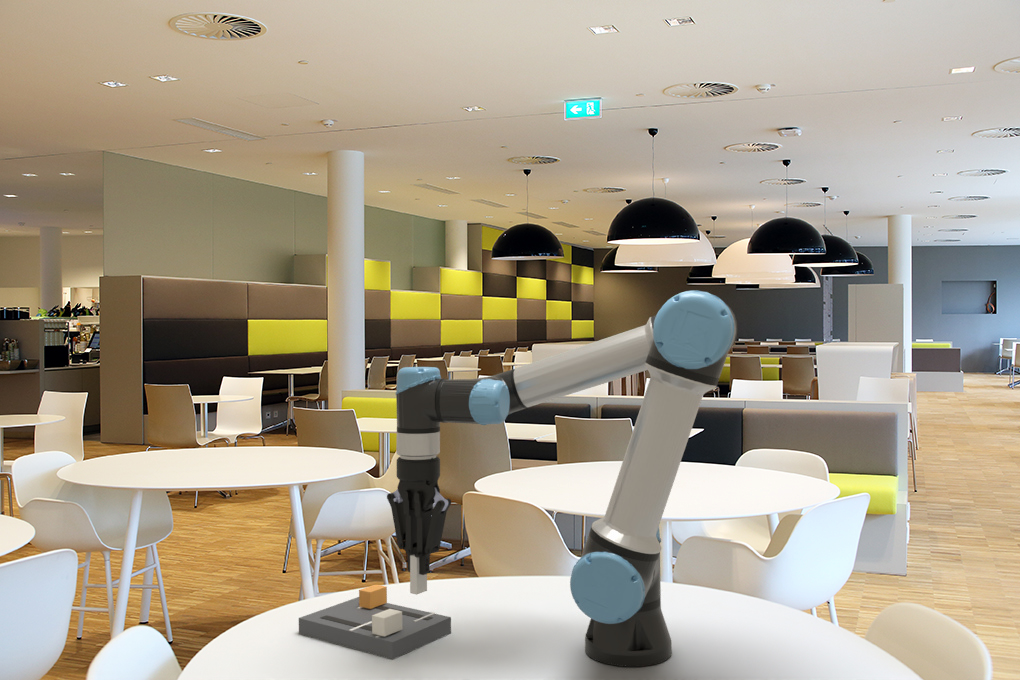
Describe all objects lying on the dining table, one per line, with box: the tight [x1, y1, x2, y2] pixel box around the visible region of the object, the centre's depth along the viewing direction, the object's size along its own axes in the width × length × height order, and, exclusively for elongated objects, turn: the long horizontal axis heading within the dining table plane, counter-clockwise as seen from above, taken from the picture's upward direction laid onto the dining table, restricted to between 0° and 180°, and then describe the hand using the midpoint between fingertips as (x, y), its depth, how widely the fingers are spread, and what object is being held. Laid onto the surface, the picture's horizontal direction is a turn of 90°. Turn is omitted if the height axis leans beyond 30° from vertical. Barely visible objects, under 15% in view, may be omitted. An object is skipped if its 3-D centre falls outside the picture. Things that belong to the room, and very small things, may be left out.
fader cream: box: [372, 609, 402, 637], centre depth 156 cm, size 3×5×3 cm, turn 145°
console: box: [298, 596, 452, 660], centre depth 165 cm, size 24×16×3 cm, turn 55°
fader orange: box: [358, 584, 388, 609], centre depth 172 cm, size 3×5×3 cm, turn 145°
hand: (418, 591), depth 152 cm, fingers closed
